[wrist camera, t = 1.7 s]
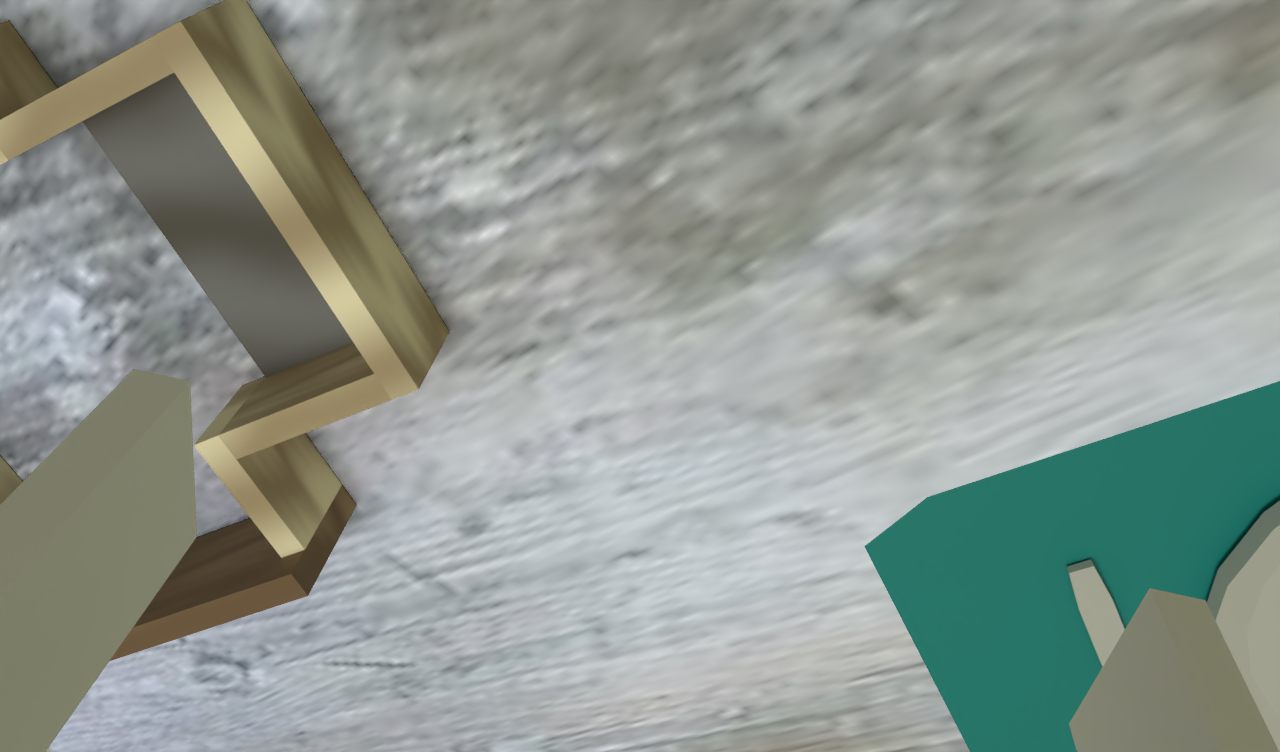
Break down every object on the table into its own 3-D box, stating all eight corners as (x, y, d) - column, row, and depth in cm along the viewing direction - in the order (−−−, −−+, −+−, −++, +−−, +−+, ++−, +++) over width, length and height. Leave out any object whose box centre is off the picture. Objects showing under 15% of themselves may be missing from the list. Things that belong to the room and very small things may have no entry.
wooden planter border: (-270, 182, 43) (-410, 242, 38) (192, -87, 36) (97, -59, 31) (99, 596, 53) (27, 687, 48) (520, 447, 46) (489, 535, 41)
